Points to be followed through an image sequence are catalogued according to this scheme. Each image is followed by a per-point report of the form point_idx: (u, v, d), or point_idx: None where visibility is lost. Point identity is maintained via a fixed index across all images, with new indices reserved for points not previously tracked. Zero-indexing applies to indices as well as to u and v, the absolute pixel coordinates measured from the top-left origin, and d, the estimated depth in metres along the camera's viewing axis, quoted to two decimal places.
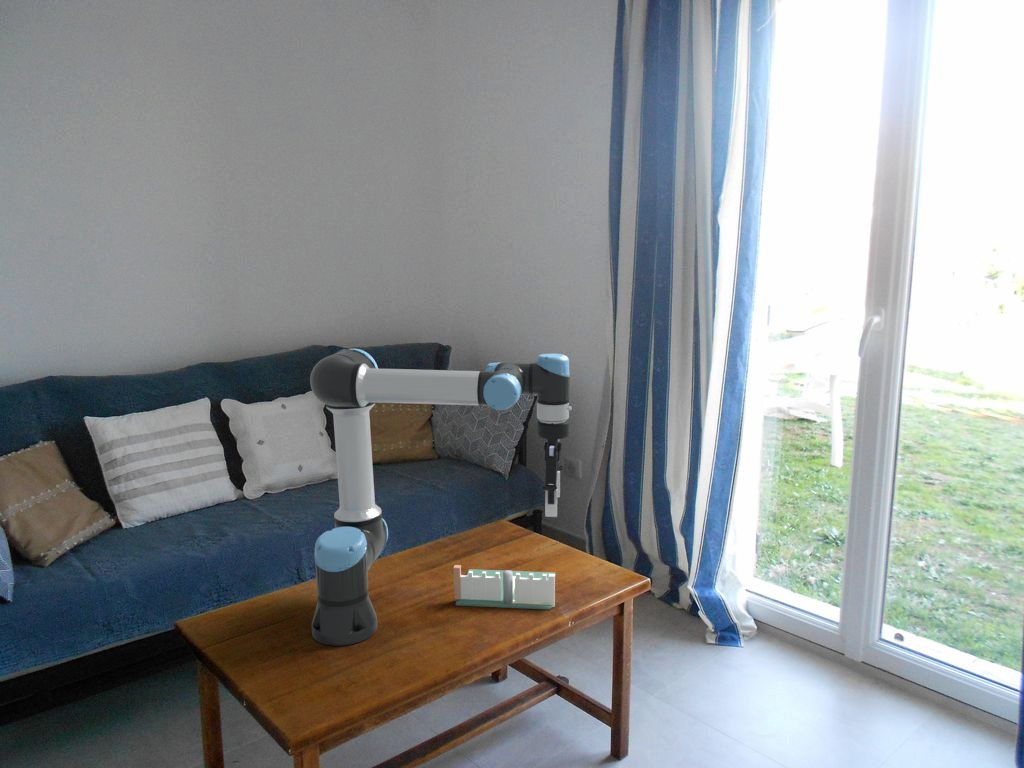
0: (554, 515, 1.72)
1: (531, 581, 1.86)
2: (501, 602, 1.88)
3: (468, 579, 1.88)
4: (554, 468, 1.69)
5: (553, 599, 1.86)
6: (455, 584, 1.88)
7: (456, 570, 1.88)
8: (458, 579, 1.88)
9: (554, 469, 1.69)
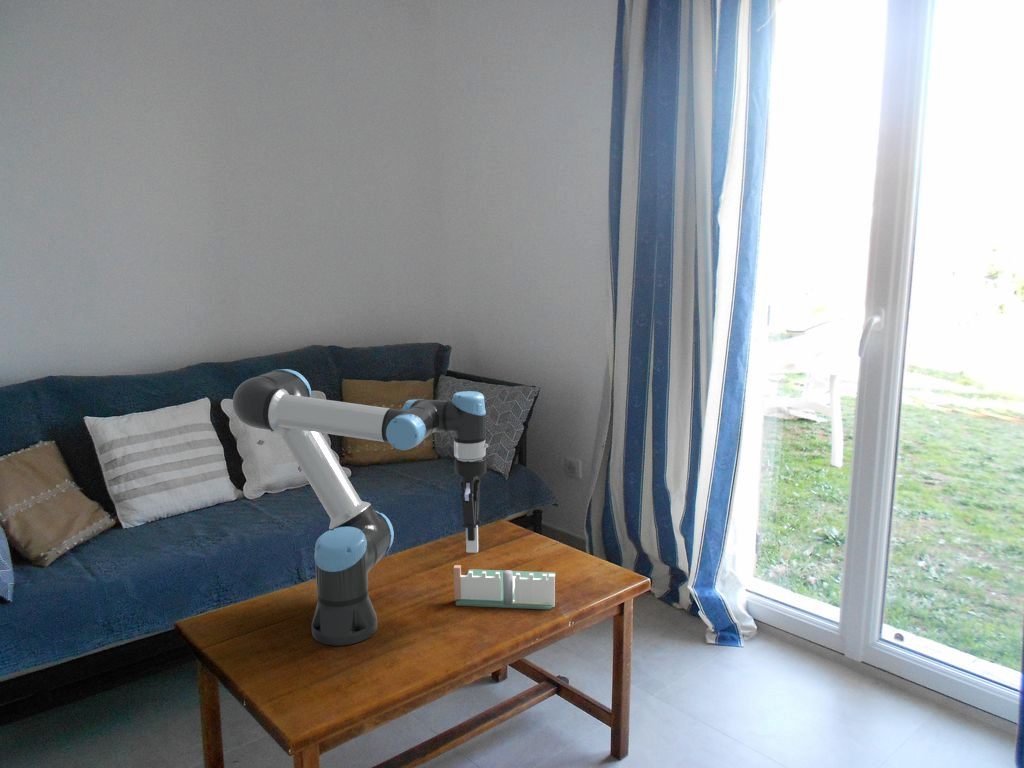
0: (475, 551, 1.80)
1: (531, 581, 1.86)
2: (501, 602, 1.88)
3: (468, 579, 1.88)
4: (471, 511, 1.74)
5: (553, 599, 1.86)
6: (455, 584, 1.88)
7: (456, 570, 1.88)
8: (458, 579, 1.88)
9: (471, 512, 1.74)
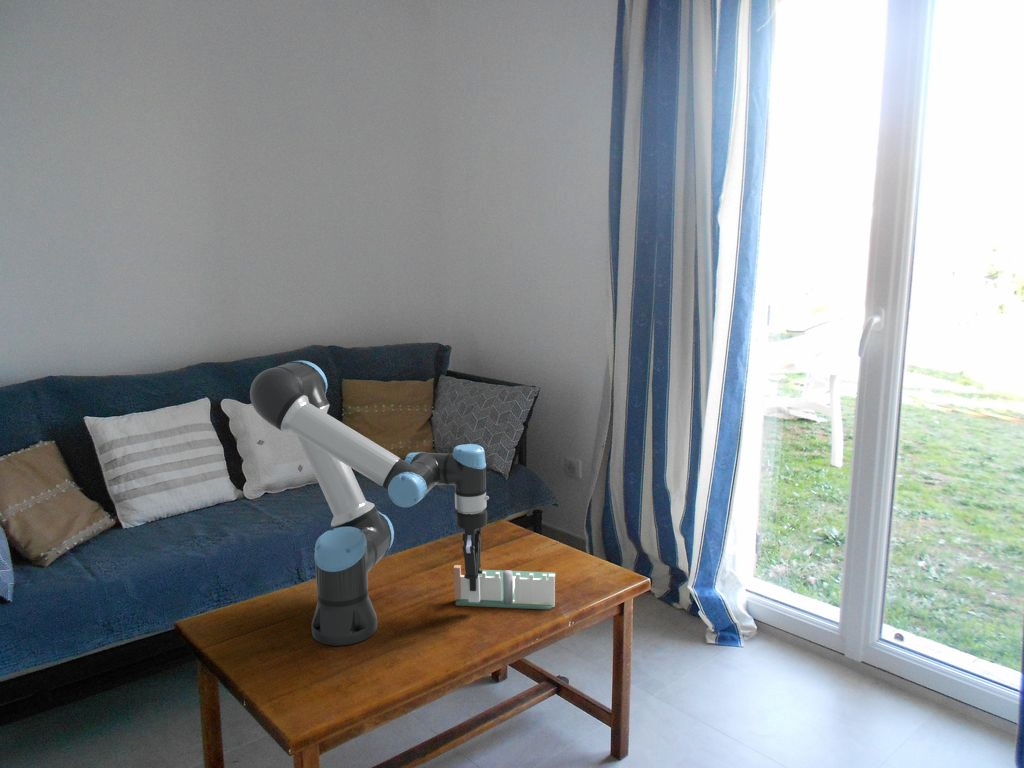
0: (477, 601, 1.83)
1: (531, 581, 1.86)
2: (501, 602, 1.88)
3: None
4: (472, 563, 1.77)
5: (553, 599, 1.86)
6: (455, 584, 1.88)
7: (456, 570, 1.88)
8: (458, 579, 1.88)
9: (473, 564, 1.77)
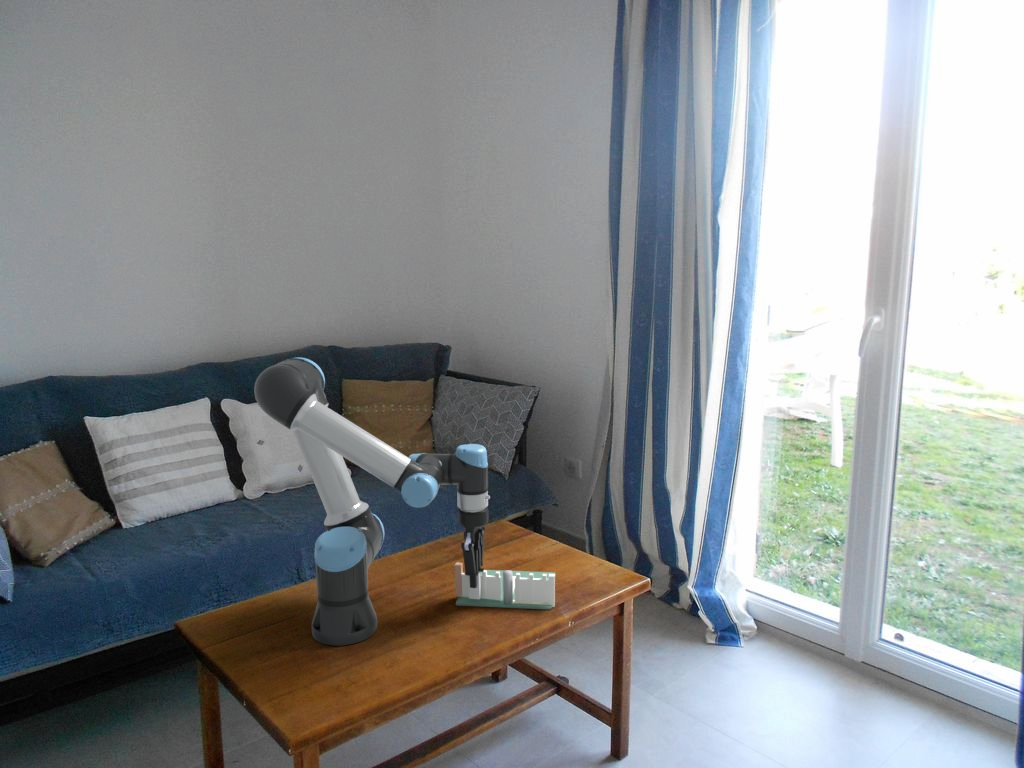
0: (477, 598, 1.86)
1: (531, 581, 1.86)
2: (501, 602, 1.88)
3: None
4: (471, 560, 1.81)
5: (553, 599, 1.86)
6: (456, 581, 1.90)
7: (457, 567, 1.89)
8: (459, 576, 1.89)
9: (471, 561, 1.81)
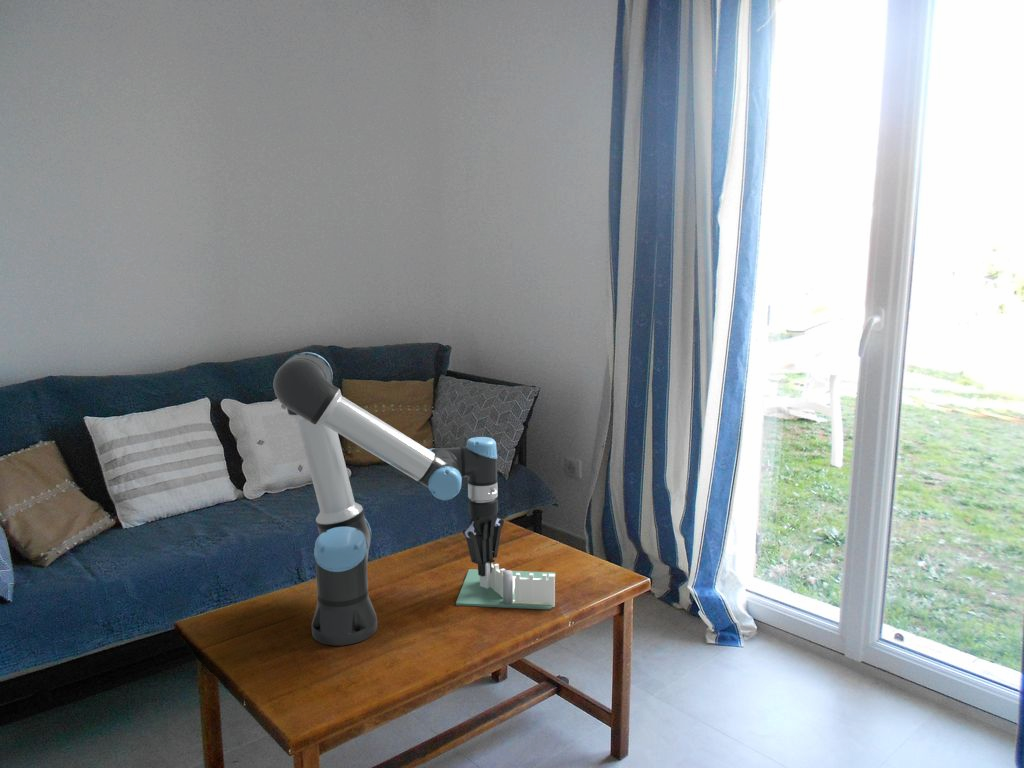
0: (485, 586, 1.92)
1: (531, 581, 1.86)
2: (501, 602, 1.88)
3: None
4: (473, 548, 1.87)
5: (553, 599, 1.86)
6: None
7: None
8: None
9: (473, 549, 1.87)
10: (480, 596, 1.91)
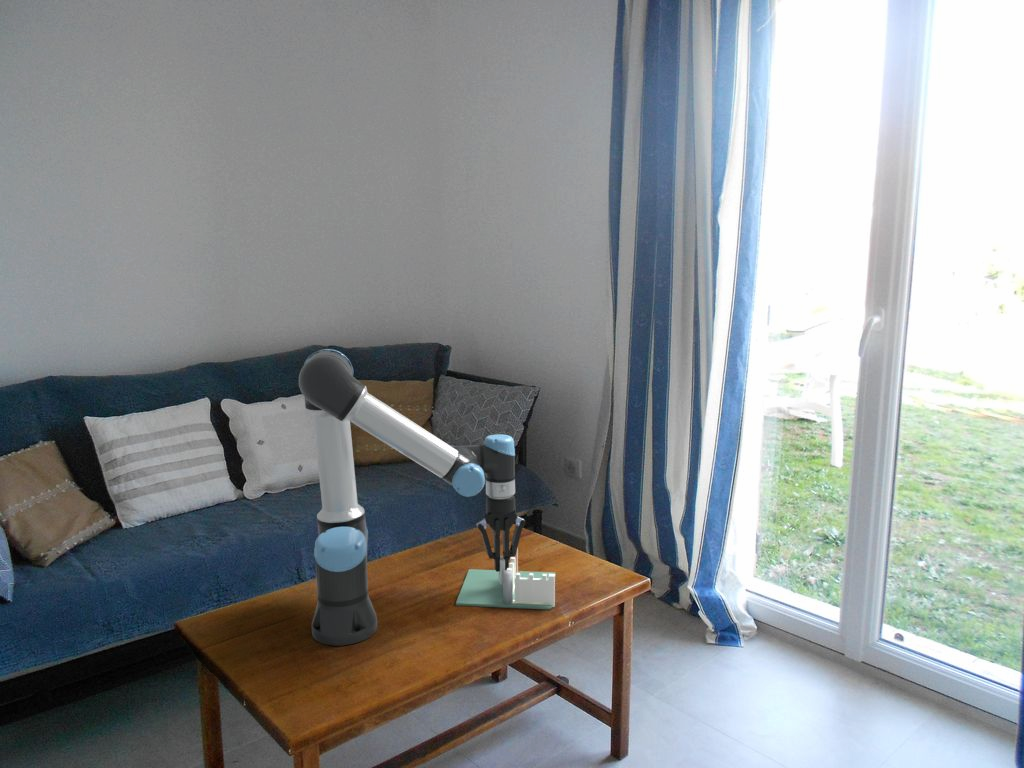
0: (500, 582, 1.95)
1: (531, 581, 1.86)
2: (501, 602, 1.88)
3: None
4: (484, 541, 1.92)
5: (553, 599, 1.86)
6: None
7: None
8: None
9: (484, 542, 1.92)
10: (480, 596, 1.91)
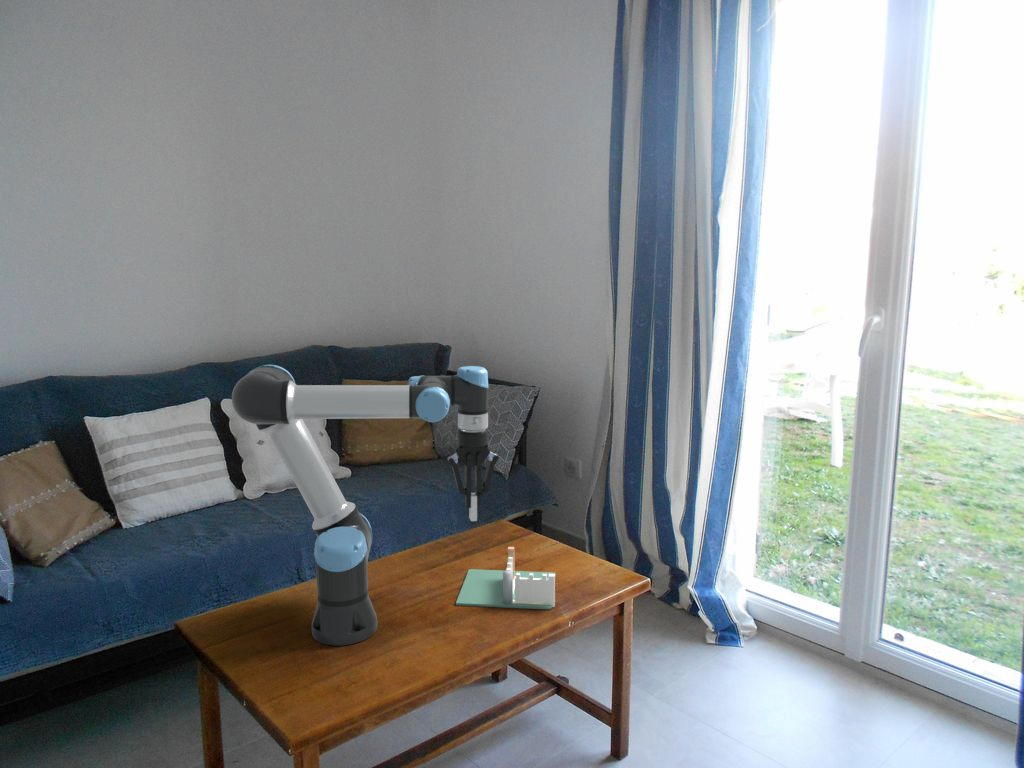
0: (470, 519, 1.89)
1: (531, 581, 1.86)
2: (501, 602, 1.88)
3: None
4: (455, 476, 1.86)
5: (553, 599, 1.86)
6: None
7: (508, 550, 2.00)
8: None
9: (455, 477, 1.86)
10: (480, 596, 1.91)
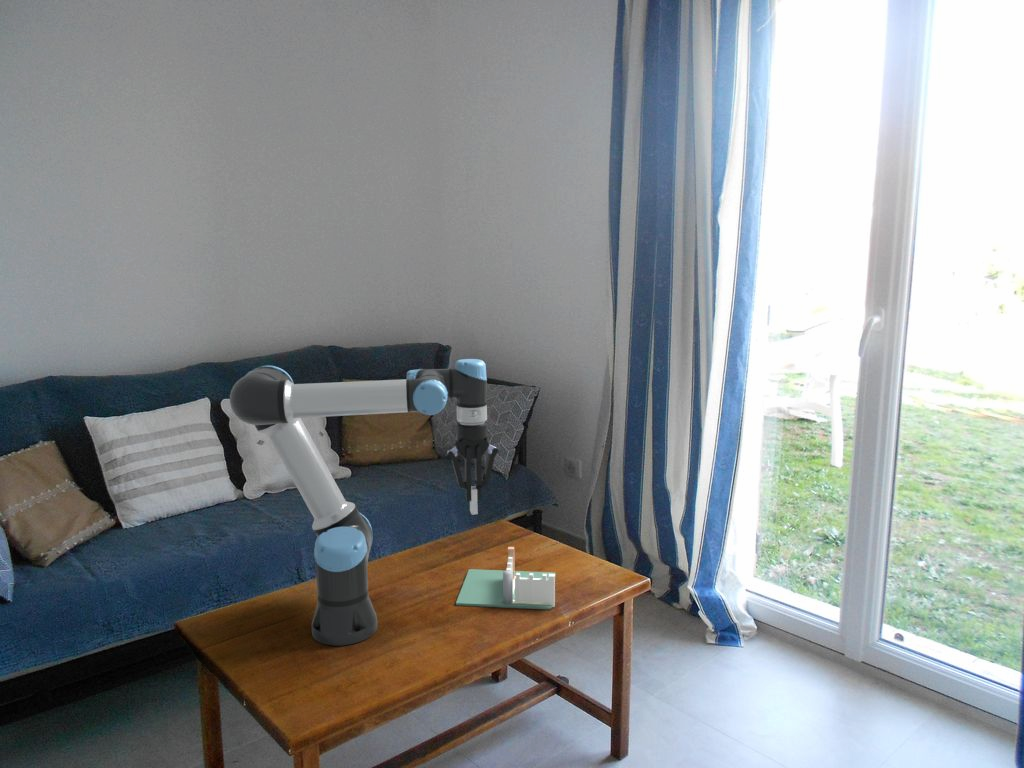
0: (471, 512, 1.88)
1: (531, 581, 1.86)
2: (501, 602, 1.88)
3: None
4: (454, 470, 1.85)
5: (553, 599, 1.86)
6: None
7: (508, 550, 2.00)
8: None
9: (455, 470, 1.85)
10: (480, 596, 1.91)
